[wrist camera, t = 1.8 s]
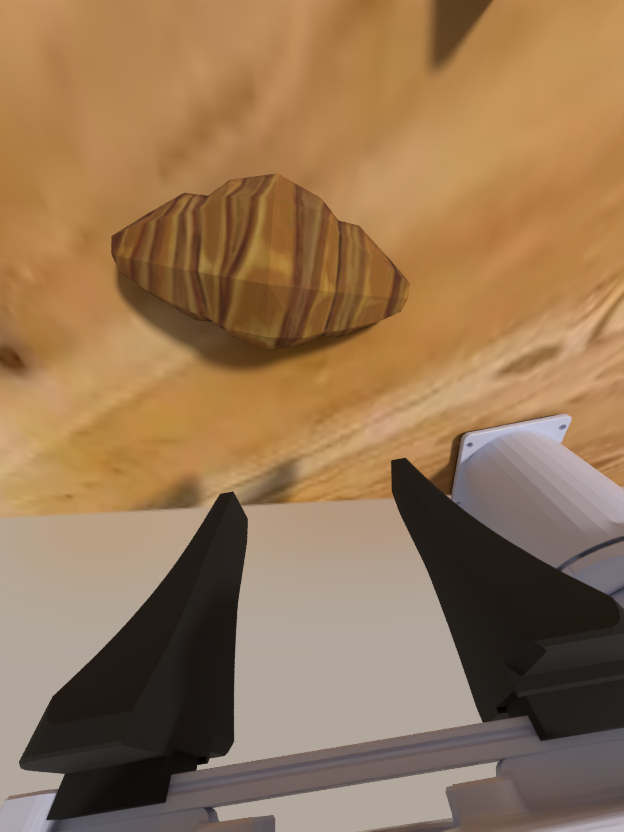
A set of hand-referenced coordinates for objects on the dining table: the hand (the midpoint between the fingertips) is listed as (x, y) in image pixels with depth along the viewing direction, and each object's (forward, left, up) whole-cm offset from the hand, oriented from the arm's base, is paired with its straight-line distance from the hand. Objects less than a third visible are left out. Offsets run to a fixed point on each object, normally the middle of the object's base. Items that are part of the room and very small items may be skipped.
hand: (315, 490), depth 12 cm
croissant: (+8, 0, -7) cm, 11 cm away
